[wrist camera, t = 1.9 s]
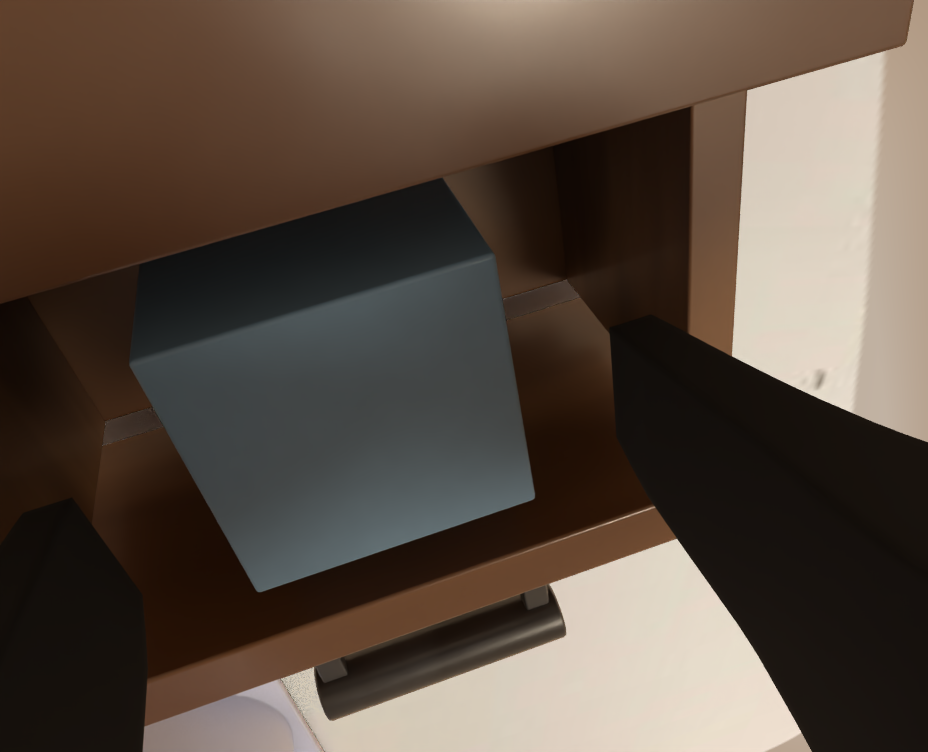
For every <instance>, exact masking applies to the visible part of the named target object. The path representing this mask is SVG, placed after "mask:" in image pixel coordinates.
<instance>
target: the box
mask: <svg viewBox="0 0 928 752" xmlns="http://www.w3.org/2000/svg"><path fill="white" fill-rule="evenodd" d="M129 366H130V368H131V369H132V371H133V373H134V375H135V377H136V378H137V380H138V382H139V384H140V385H141V387H142V389H143V391H144V392H145V394H146V396H147V398H148V400H149V401H150V403H151V405H152V407H153V408H154V410H155V412H156V414H157V416H158V417H159V419H160V421H161V423H162V424H163V426H164V428H165V430H166V432H167V433H168V435H169V437H170V439H171V440H172V442H173V444H174V446H175V448H176V449H177V451H178V453H179V455H180V456H181V458H182V460H183V462H184V464H185V465H186V467H187V469H188V471H189V472H190V474H191V476H192V478H193V479H194V481H195V483H196V485H197V487H198V488H199V490H200V492H201V494H202V495H203V497H204V499H205V501H206V503H207V504H208V506H209V508H210V510H211V511H212V513H213V515H214V517H215V519H216V520H217V522H218V524H219V526H220V527H221V529H222V531H223V533H224V535H225V536H226V538H227V540H228V542H229V543H230V545H231V547H232V549H233V550H234V552H235V554H236V556H237V558H238V559H239V561H240V563H241V565H242V566H243V568H244V570H245V572H246V574H247V575H248V577H249V579H250V581H251V582H252V584H253V586H254V588H255V589H256V591H257V592H263V591H266V590H269V589H272V588H275V587H278V586H280V585H283V584H286V583H289V582H292V581H295V580H298V579H301V578H304V577H307V576H310V575H313V574H316V573H319V572H322V571H325V570H328V569H331V568H333V567H336V566H339V565H342V564H345V563H348V562H351V561H354V560H357V559H360V558H363V557H366V556H369V555H372V554H375V553H378V552H381V551H383V550H386V549H389V548H392V547H395V546H398V545H401V544H404V543H407V542H410V541H413V540H416V539H419V538H422V537H425V536H428V535H431V534H434V533H436V532H439V531H442V530H445V529H448V528H451V527H454V526H457V525H460V524H463V523H466V522H469V521H472V520H475V519H478V518H481V517H484V516H487V515H489V514H492V513H495V512H498V511H501V510H504V509H507V508H510V507H513V506H516V505H519V504H522V503H525V502H528V501H531V500H533V499H534V498H535V491H534V485H533V479H532V473H531V467H530V461H529V455H528V449H527V443H526V437H525V431H524V425H523V419H522V413H521V407H520V401H519V395H518V389H517V383H516V377H515V371H514V365H513V359H512V353H511V347H510V341H509V335H508V329H507V323H506V317H505V311H504V305H503V299H502V293H501V287H500V281H499V275H498V269H497V263H496V257H495V254H494V253H493V251H492V250H491V249H490V247H489V246H488V244H487V243H486V241H485V240H484V238H483V237H482V235H481V234H480V232H479V231H478V229H477V228H476V226H475V225H474V223H473V222H472V220H471V219H470V217H469V216H468V214H467V213H466V211H465V210H464V209H463V207H462V206H461V204H460V203H459V201H458V200H457V198H456V197H455V195H454V194H453V192H452V191H451V189H450V188H449V186H448V185H447V183H446V182H445V180H444V179H443V177H442V178H439V179H435V180H432V181H428V182H425V183H421V184H418V185H414V186H411V187H407V188H404V189H400V190H397V191H393V192H390V193H386V194H383V195H379V196H376V197H372V198H369V199H365V200H362V201H358V202H355V203H351V204H348V205H344V206H341V207H337V208H334V209H330V210H327V211H323V212H320V213H316V214H313V215H309V216H306V217H302V218H299V219H295V220H292V221H288V222H285V223H281V224H278V225H274V226H271V227H267V228H264V229H260V230H257V231H253V232H250V233H246V234H243V235H239V236H236V237H232V238H229V239H225V240H222V241H218V242H215V243H211V244H208V245H204V246H201V247H197V248H194V249H190V250H187V251H183V252H180V253H176V254H173V255H169V256H166V257H162V258H159V259H155V260H152V261H148V262H145V263H141V264H140V265H139V274H138V283H137V293H136V302H135V311H134V321H133V330H132V339H131V349H130V358H129Z"/></svg>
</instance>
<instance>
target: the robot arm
mask: <svg viewBox="0 0 928 752" xmlns="http://www.w3.org/2000/svg"><path fill="white" fill-rule="evenodd" d="M609 332H610V347H611V363H612V378H613V394H614V409H615V425H616V437H617V439H618V441H619V443H620V445H621V447H622V449H623V451H624V453H625V455H626V457H627V459H628V461H629V463H630V464H631V466H632V468H633V470H634V472H635V474H636V476H637V478H638V479H639V481H640V483H641V485H642V487H643V489H644V490H645V492H646V494H647V496H648V498H649V499H650V500H651V502H652V503H653V505H654V506H655V508H656V509H657V511H658V512H659V514H660V515H661V516H662V518H663V519H664V521H665V522H666V524H667V525H668V526H669V528H670V529H671V531H672V532H673V534H674V535H675V536H676V538H677V539H678V541H679V542H680V544H681V545H682V546H683V548H684V549H685V551H686V552H687V553H688V555H689V556H690V558H691V559H692V560H693V562H694V563H695V565H696V566H697V567H698V569H699V570H700V572H701V573H702V574H703V576H704V577H705V579H706V580H707V582H708V583H709V584H710V586H711V587H712V589H713V590H714V591H715V593H716V594H717V596H718V597H719V598H720V600H721V601H722V603H723V604H724V605H725V607H726V608H727V610H728V611H729V613H730V614H731V615H732V617H733V618H734V620H735V621H736V622H737V624H738V625H739V627H740V628H741V630H742V631H743V633H744V635H745V636H746V638H747V639H748V641H749V642H750V644H751V645H752V647H753V648H754V650H755V651H756V653H757V655H758V656H759V658H760V660H761V662H762V663H763V665H764V667H765V669H766V670H767V672H768V674H769V676H770V677H771V679H772V681H773V683H774V684H775V686H776V688H777V690H778V691H779V693H780V695H781V697H782V698H783V700H784V702H785V704H786V705H787V707H788V709H789V711H790V712H791V714H792V716H793V718H794V719H795V721H796V723H797V725H798V727H799V729H800V730H801V732H802V734H803V736H804V738H805V739H806V741H807V743H808V745H809V747H810V749H811V751H812V752H928V442H925V441H922V440H920V439H917V438H914V437H911V436H908V435H905V434H903V433H900V432H897V431H895V430H892V429H890V428H887V427H885V426H882V425H879V424H876V423H874V422H872V421H869V420H867V419H865V418H862V417H860V416H858V415H855V414H853V413H851V412H848V411H846V410H844V409H841V408H839V407H837V406H834V405H832V404H830V403H827V402H825V401H823V400H821V399H818V398H816V397H814V396H812V395H810V394H807V393H805V392H803V391H801V390H799V389H797V388H795V387H792V386H790V385H788V384H786V383H784V382H782V381H780V380H778V379H776V378H774V377H772V376H770V375H768V374H766V373H764V372H762V371H760V370H758V369H756V368H754V367H752V366H750V365H748V364H746V363H744V362H742V361H740V360H738V359H736V358H734V357H732V356H730V355H728V354H726V353H725V352H723V351H721V350H719V349H717V348H715V347H713V346H711V345H709V344H707V343H705V342H704V341H702V340H700V339H698V338H696V337H694V336H692V335H690V334H689V333H687V332H685V331H683V330H681V329H679V328H677V327H675V326H673V325H671V324H669V323H668V322H666V321H664V320H662V319H660V318H658V317H656V316H654V315H651V314H650V315H647V316H644V317H641V318H638V319H635V320H631V321H628V322H625V323H622V324H619V325H616V326H612V327H609ZM147 675H148V662H147V644H146V629H145V618H144V606H143V595H142V593H141V592H140V591H139V589H138V588H137V586H136V585H135V584H134V582H133V581H132V580H131V578H130V577H129V575H128V574H127V573H126V571H125V570H124V568H123V567H122V566H121V564H120V563H119V561H118V560H117V559H116V557H115V556H114V555H113V553H112V552H111V550H110V549H109V548H108V546H107V545H106V543H105V542H104V541H103V539H102V538H101V537H100V535H99V534H98V532H97V531H96V530H95V528H94V527H93V525H92V524H91V523H90V521H89V520H88V519H87V517H86V516H85V514H84V513H83V512H82V510H81V509H80V507H79V506H78V505H77V503H76V502H75V501H74V499H73V498H72V497H71V498H68V499H65V500H62V501H59V502H56V503H52V504H49V505H46V506H43V507H40V508H37V509H33V510H30V511H27V512H24V513H22V515H21V516H20V517H19V519H18V520H17V522H16V523H15V524H14V526H13V527H12V528H11V530H10V531H9V533H8V534H7V536H6V537H5V539H4V540H3V542H2V543H1V545H0V752H324V751H323V749H322V747H321V746H320V744H319V742H318V741H317V739H316V737H315V736H314V734H313V732H312V731H311V729H310V727H309V726H308V724H307V722H306V721H305V719H304V717H303V716H302V714H301V712H300V711H299V709H298V707H297V706H296V704H295V702H294V701H293V699H292V697H291V696H290V694H289V693H288V691H287V689H286V688H285V686H284V684H283V683H282V681H281V679H278V680H275V681H273V682H270V683H267V684H264V685H261V686H258V687H256V688H253V689H250V690H247V691H244V692H241V693H239V694H236V695H233V696H230V697H227V698H224V699H222V700H219V701H216V702H213V703H210V704H208V705H205V706H202V707H199V708H196V709H193V710H191V711H188V712H185V713H182V714H179V715H176V716H174V717H171V718H168V719H165V720H162V721H159V722H157V723H154V724H151V725H148V726H145V710H146V694H147ZM144 726H145V727H144Z"/></svg>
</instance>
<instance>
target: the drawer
mask: <svg viewBox="0 0 928 752" xmlns="http://www.w3.org/2000/svg"><path fill="white" fill-rule="evenodd" d="M746 100H747V90H746V91H743V92H739V93H736V94H732V95H729V96H725V97H722V98H718V99H715V100H711V101H708V102H704V103H701V104H697V105H694V106H690V107H687V108H683V109H680V110H676V111H673V112H669V113H666V114H662V115H659V116H655V117H652V118H648V119H645V120H641V121H638V122H634V123H631V124H627V125H624V126H620V127H617V128H613V129H610V130H606V131H603V132H600V133H596V134H593V135H589V136H586V137H582V138H579V139H575V140H572V141H568V142H565V143H561V144H558V145H554V146H551V147H547V148H544V149H540V150H537V151H533V152H530V153H526V154H523V155H519V156H516V157H512V158H509V159H505V160H502V161H498V162H495V163H491V164H488V165H484V166H481V167H477V168H474V169H470V170H467V171H463V172H460V173H456V174H453V175H449V176H446V177H443V179H444V180H445V182H446V183H447V185H448V186H449V188H450V189H451V191H452V192H453V194H454V195H455V197H456V198H457V200H458V201H459V203H460V204H461V206H462V207H463V209H464V210H465V211H466V213H467V214H468V216H469V217H470V219H471V220H472V222H473V223H474V225H475V226H476V228H477V229H478V231H479V232H480V234H481V235H482V237H483V238H484V240H485V241H486V243H487V244H488V246H489V247H490V249H491V250H492V251H493V253H494V254H495V257H496V263H497V269H498V275H499V281H500V287H501V293H502V299H504V298H508V297H511V296H514V295H517V294H521V293H524V292H527V291H530V290H534V289H537V288H540V287H543V286H547V285H550V284H553V283H556V282H560V281H563V280H566V279H567V281H568V282H569V283H570V285H571V286H572V287H573V288H574V290H575V291H576V292H577V293H578V295H579V296H580V298H577V299H574V300H570V301H567V302H564V303H561V304H557V305H554V306H551V307H548V308H545V309H541V310H538V311H535V312H532V313H528V314H525V315H522V316H519V317H516V318H512V319H509V320H506V323H507V329H508V335H509V341H510V347H511V353H512V359H513V365H514V371H515V377H516V383H517V389H518V395H519V401H520V407H521V413H522V419H523V425H524V431H525V437H526V443H527V449H528V455H529V461H530V467H531V473H532V479H533V485H534V491H535V498H534V499H533V500H531V501H528V502H525V503H522V504H519V505H516V506H513V507H510V508H507V509H504V510H501V511H498V512H495V513H492V514H489V515H487V516H484V517H481V518H478V519H475V520H472V521H469V522H466V523H463V524H460V525H457V526H454V527H451V528H448V529H445V530H442V531H439V532H436V533H434V534H431V535H428V536H425V537H422V538H419V539H416V540H413V541H410V542H407V543H404V544H401V545H398V546H395V547H392V548H389V549H386V550H383V551H381V552H378V553H375V554H372V555H369V556H366V557H363V558H360V559H357V560H354V561H351V562H348V563H345V564H342V565H339V566H336V567H333V568H331V569H328V570H325V571H322V572H319V573H316V574H313V575H310V576H307V577H304V578H301V579H298V580H295V581H292V582H289V583H286V584H283V585H280V586H278V587H275V588H272V589H269V590H266V591H263V592H257V591H256V589H255V588H254V586H253V584H252V582H251V581H250V579H249V577H248V575H247V574H246V572H245V570H244V568H243V566H242V565H241V563H240V561H239V559H238V558H237V556H236V554H235V552H234V550H233V549H232V547H231V545H230V543H229V542H228V540H227V538H226V536H225V535H224V533H223V531H222V529H221V527H220V526H219V524H218V522H217V520H216V519H215V517H214V515H213V513H212V511H211V510H210V508H209V506H208V504H207V503H206V501H205V499H204V497H203V495H202V494H201V492H200V490H199V488H198V487H197V485H196V483H195V481H194V479H193V478H192V476H191V474H190V472H189V471H188V469H187V467H186V465H185V464H184V462H183V460H182V458H181V456H180V455H179V453H178V451H177V449H176V448H175V446H174V444H173V442H172V440H171V439H170V437H169V435H168V433H167V432H166V430H165V428H164V427H162V428H158V429H155V430H152V431H149V432H146V433H142V434H139V435H136V436H133V437H129V438H126V439H123V440H120V441H117V442H113V443H110V444H107V445H104V446H102V445H103V437H104V430H105V421H107V420H111V419H114V418H117V417H120V416H124V415H127V414H130V413H133V412H137V411H140V410H143V409H146V408H150V407H152V405H151V403H150V401H149V400H148V398H147V396H146V394H145V392H144V391H143V389H142V387H141V385H140V384H139V382H138V380H137V378H136V377H135V375H134V373H133V371H132V369H131V368H130V366H129V358H130V349H131V339H132V330H133V321H134V311H135V302H136V293H137V283H138V274H139V265H140V264H138V265H134V266H131V267H127V268H124V269H120V270H117V271H114V272H110V273H107V274H103V275H100V276H96V277H93V278H89V279H86V280H82V281H79V282H75V283H72V284H68V285H65V286H61V287H58V288H54V289H51V290H47V291H44V292H40V293H37V294H33V295H30V296H26V297H23V298H19V299H16V300H12V301H9V302H5V303H2V304H0V545H1V543H2V542H3V540H4V539H5V537H6V536H7V534H8V533H9V531H10V530H11V528H12V527H13V526H14V524H15V523H16V522H17V520H18V519H19V517H20V516H21V515H22V513H24V512H27V511H30V510H33V509H37V508H40V507H43V506H46V505H49V504H52V503H56V502H59V501H62V500H65V499H68V498H71V497H72V498H73V499H74V501H75V502H76V503H77V505H78V506H79V507H80V509H81V510H82V512H83V513H84V514H85V516H86V517H87V519H88V520H89V521H90V523H91V524H92V525H93V527H94V528H95V530H96V531H97V532H98V534H99V535H100V537H101V538H102V539H103V541H104V542H105V543H106V545H107V546H108V548H109V549H110V550H111V552H112V553H113V555H114V556H115V557H116V559H117V560H118V561H119V563H120V564H121V566H122V567H123V568H124V570H125V571H126V573H127V574H128V575H129V577H130V578H131V580H132V581H133V582H134V584H135V585H136V586H137V588H138V589H139V591H140V592H141V593H142V595H143V606H144V618H145V629H146V644H147V662H148V675H147V694H146V710H145V726H148V725H151V724H154V723H157V722H159V721H162V720H165V719H168V718H171V717H174V716H176V715H179V714H182V713H185V712H188V711H191V710H193V709H196V708H199V707H202V706H205V705H208V704H210V703H213V702H216V701H219V700H222V699H224V698H227V697H230V696H233V695H236V694H239V693H241V692H244V691H247V690H250V689H253V688H256V687H258V686H261V685H264V684H267V683H270V682H273V681H275V680H278V679H281V678H284V677H287V676H290V675H292V674H295V673H298V672H301V671H304V670H307V669H309V668H312V667H314V676H315V682H316V687H317V691H318V695H319V699H320V702H321V705H322V708H323V710H324V713H325V715H326V716H327V718H328V719H329V720H331V721H334V720H336V719H339V718H342V717H345V716H347V715H350V714H353V713H356V712H358V711H361V710H364V709H367V708H369V707H372V706H375V705H378V704H380V703H383V702H386V701H389V700H392V699H394V698H397V697H400V696H403V695H405V694H408V693H411V692H414V691H416V690H419V689H422V688H425V687H427V686H430V685H433V684H436V683H438V682H441V681H444V680H447V679H449V678H452V677H455V676H458V675H460V674H463V673H466V672H469V671H472V670H474V669H477V668H480V667H483V666H485V665H488V664H491V663H494V662H496V661H499V660H502V659H505V658H507V657H510V656H513V655H516V654H518V653H521V652H524V651H527V650H529V649H532V648H535V647H538V646H540V645H543V644H546V643H549V642H552V641H554V640H557V639H560V638H563V637H564V636H565V635H566V627H565V622H564V619H563V615H562V612H561V609H560V607H559V604H558V601H557V599H556V596H555V594H554V592H553V590H552V588H551V586H550V585H549V584H550V583H553V582H555V581H558V580H561V579H564V578H567V577H570V576H572V575H575V574H578V573H581V572H584V571H587V570H589V569H592V568H595V567H598V566H601V565H604V564H606V563H609V562H612V561H615V560H618V559H621V558H623V557H626V556H629V555H632V554H635V553H638V552H640V551H643V550H646V549H649V548H652V547H655V546H657V545H660V544H663V543H666V542H669V541H671V540H674V539H677V538H676V536H675V535H674V534H673V532H672V531H671V529H670V528H669V526H668V525H667V524H666V522H665V521H664V519H663V518H662V516H661V515H660V514H659V512H658V511H657V509H656V508H655V506H654V505H653V503H652V502H651V500H650V499H649V498H648V496H647V494H646V492H645V490H644V489H643V487H642V485H641V483H640V481H639V479H638V478H637V476H636V474H635V472H634V470H633V468H632V466H631V464H630V463H629V461H628V459H627V457H626V455H625V453H624V451H623V449H622V447H621V445H620V443H619V441H618V439H617V437H616V425H615V409H614V394H613V378H612V363H611V347H610V332H609V327H612V326H616V325H619V324H622V323H625V322H628V321H631V320H635V319H638V318H641V317H644V316H647V315H650V314H651V315H654V316H656V317H658V318H660V319H662V320H664V321H666V322H668V323H669V324H671V325H673V326H675V327H677V328H679V329H681V330H683V331H685V332H687V333H689V334H690V335H692V336H694V337H696V338H698V339H700V340H702V341H704V342H705V343H707V344H709V345H711V346H713V347H715V348H717V349H719V350H721V351H723V352H725V353H726V354H728V355H730V356H732V343H733V326H734V308H735V291H736V273H737V256H738V239H739V221H740V204H741V187H742V169H743V152H744V134H745V117H746ZM145 726H144V727H145Z"/></svg>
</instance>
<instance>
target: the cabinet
mask: <svg viewBox="0 0 928 752" xmlns="http://www.w3.org/2000/svg"><path fill="white" fill-rule="evenodd" d="M913 2H914V0H0V304H2V303H5V302H9V301H12V300H16V299H19V298H23V297H26V296H30V295H33V294H37V293H40V292H44V291H47V290H51V289H54V288H58V287H61V286H65V285H68V284H72V283H75V282H79V281H82V280H86V279H89V278H93V277H96V276H100V275H103V274H107V273H110V272H114V271H117V270H120V269H124V268H127V267H131V266H134V265H138V264H141V263H145V262H148V261H152V260H155V259H159V258H162V257H166V256H169V255H173V254H176V253H180V252H183V251H187V250H190V249H194V248H197V247H201V246H204V245H208V244H211V243H215V242H218V241H222V240H225V239H229V238H232V237H236V236H239V235H243V234H246V233H250V232H253V231H257V230H260V229H264V228H267V227H271V226H274V225H278V224H281V223H285V222H288V221H292V220H295V219H299V218H302V217H306V216H309V215H313V214H316V213H320V212H323V211H327V210H330V209H334V208H337V207H341V206H344V205H348V204H351V203H355V202H358V201H362V200H365V199H369V198H372V197H376V196H379V195H383V194H386V193H390V192H393V191H397V190H400V189H404V188H407V187H411V186H414V185H418V184H421V183H425V182H428V181H432V180H435V179H439V178H442V177H446V176H449V175H453V174H456V173H460V172H463V171H467V170H470V169H474V168H477V167H481V166H484V165H488V164H491V163H495V162H498V161H502V160H505V159H509V158H512V157H516V156H519V155H523V154H526V153H530V152H533V151H537V150H540V149H544V148H547V147H551V146H554V145H558V144H561V143H565V142H568V141H572V140H575V139H579V138H582V137H586V136H589V135H593V134H596V133H600V132H603V131H606V130H610V129H613V128H617V127H620V126H624V125H627V124H631V123H634V122H638V121H641V120H645V119H648V118H652V117H655V116H659V115H662V114H666V113H669V112H673V111H676V110H680V109H683V108H687V107H690V106H694V105H697V104H701V103H704V102H708V101H711V100H715V99H718V98H722V97H725V96H729V95H732V94H736V93H739V92H743V91H746V90H750V89H753V88H757V87H760V86H764V85H767V84H771V83H774V82H778V81H781V80H785V79H788V78H792V77H795V76H799V75H802V74H806V73H809V72H813V71H816V70H820V69H823V68H827V67H830V66H834V65H837V64H841V63H844V62H848V61H851V60H855V59H858V58H862V57H865V56H869V55H872V54H876V53H879V52H883V51H886V50H890V49H893V48H897V47H900V46H903V45H904V44H905V43H906V41H907V36H908V30H909V25H910V19H911V13H912V8H913Z"/></svg>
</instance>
